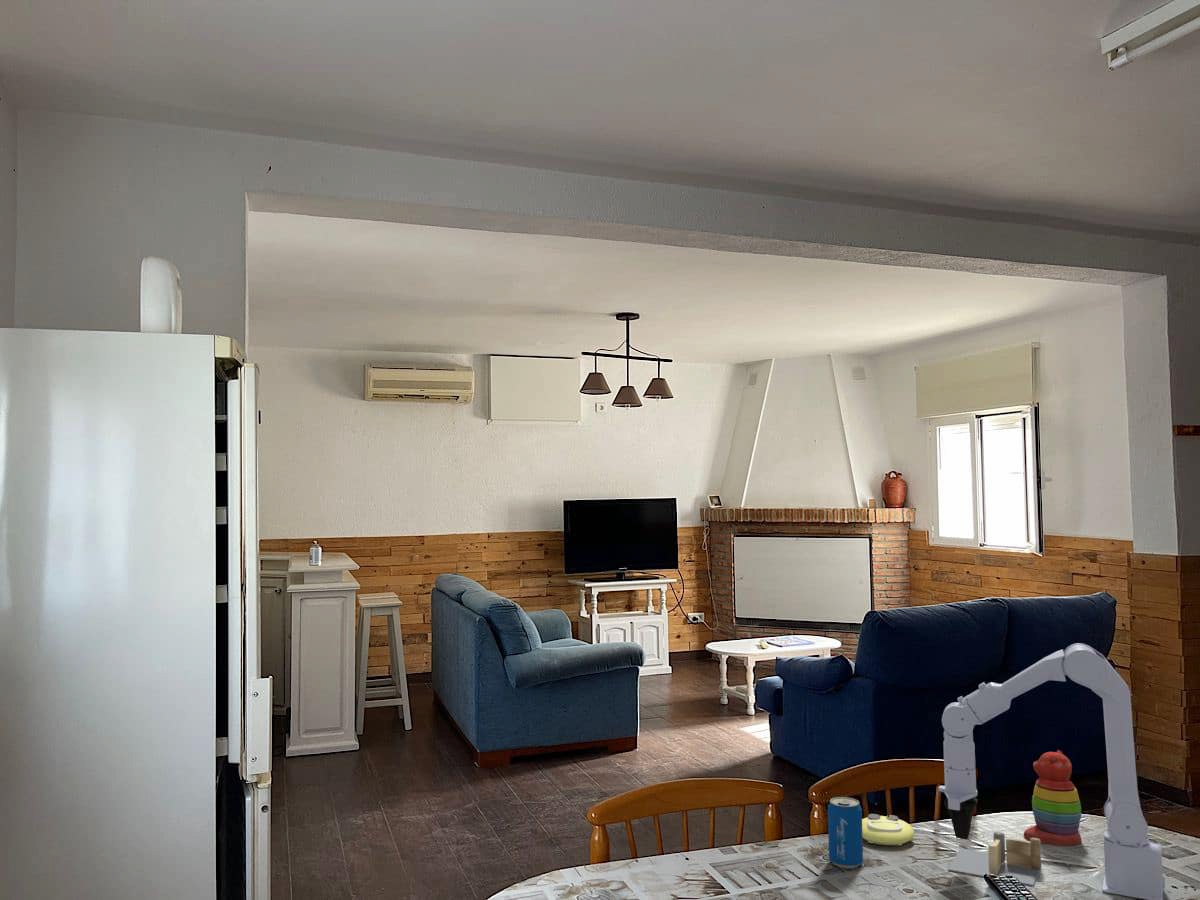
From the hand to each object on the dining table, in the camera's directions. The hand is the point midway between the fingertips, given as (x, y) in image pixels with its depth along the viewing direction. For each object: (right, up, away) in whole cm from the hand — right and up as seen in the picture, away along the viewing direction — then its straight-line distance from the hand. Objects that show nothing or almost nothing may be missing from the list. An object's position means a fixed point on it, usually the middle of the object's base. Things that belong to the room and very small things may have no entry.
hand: (962, 837), depth 185 cm
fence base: (+12, -5, -1) cm, 13 cm away
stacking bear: (+25, -7, +15) cm, 30 cm away
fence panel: (+6, -5, -2) cm, 8 cm away
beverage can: (-22, -6, +2) cm, 23 cm away
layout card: (+6, -5, -1) cm, 8 cm away
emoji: (-10, -7, +15) cm, 20 cm away
